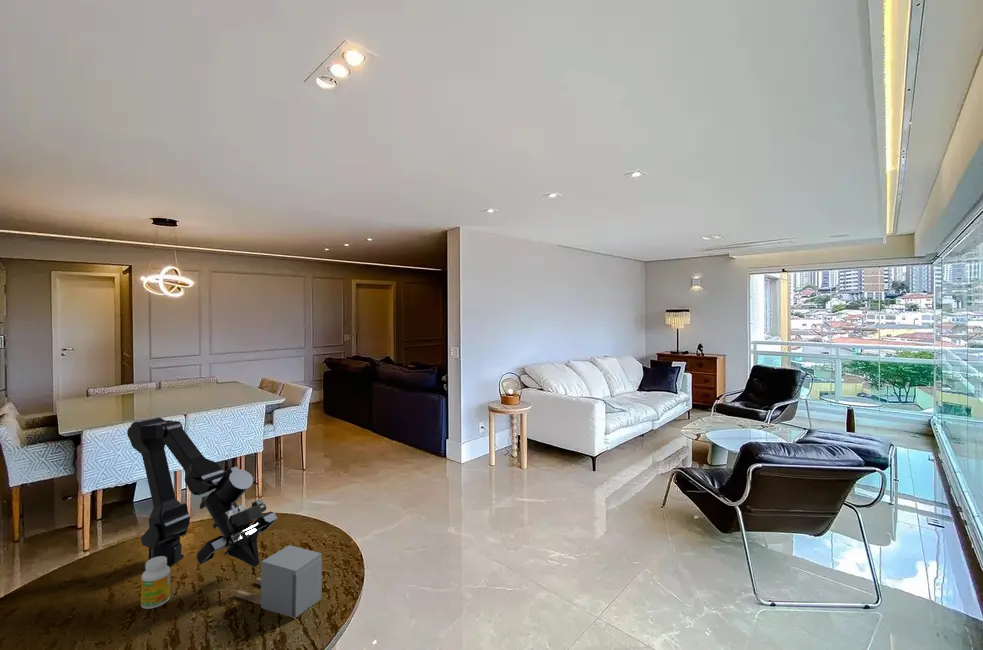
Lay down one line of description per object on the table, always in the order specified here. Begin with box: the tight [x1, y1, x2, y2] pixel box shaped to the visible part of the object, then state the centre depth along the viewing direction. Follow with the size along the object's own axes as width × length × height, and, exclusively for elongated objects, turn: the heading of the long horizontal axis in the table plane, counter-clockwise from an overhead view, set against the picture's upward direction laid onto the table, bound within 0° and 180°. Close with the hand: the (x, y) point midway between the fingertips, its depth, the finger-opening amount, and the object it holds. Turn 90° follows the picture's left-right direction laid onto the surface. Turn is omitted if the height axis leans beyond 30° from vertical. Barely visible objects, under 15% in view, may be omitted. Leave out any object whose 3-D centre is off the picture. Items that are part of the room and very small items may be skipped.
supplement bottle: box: [140, 556, 171, 610], centre depth 102 cm, size 5×5×10 cm
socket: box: [260, 544, 323, 618], centre depth 103 cm, size 10×8×11 cm
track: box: [235, 576, 261, 606], centre depth 106 cm, size 9×6×1 cm
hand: (257, 565), depth 107 cm, fingers closed
